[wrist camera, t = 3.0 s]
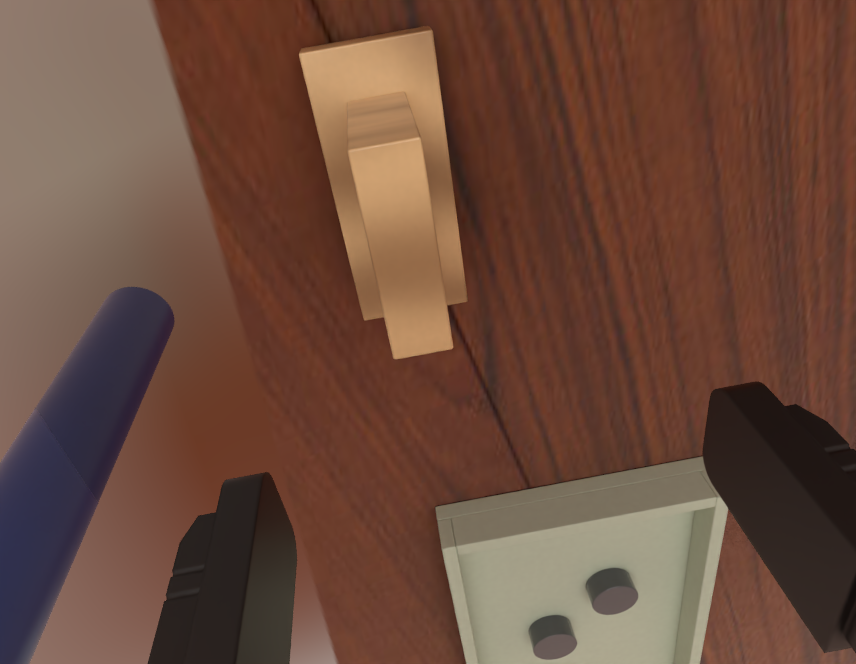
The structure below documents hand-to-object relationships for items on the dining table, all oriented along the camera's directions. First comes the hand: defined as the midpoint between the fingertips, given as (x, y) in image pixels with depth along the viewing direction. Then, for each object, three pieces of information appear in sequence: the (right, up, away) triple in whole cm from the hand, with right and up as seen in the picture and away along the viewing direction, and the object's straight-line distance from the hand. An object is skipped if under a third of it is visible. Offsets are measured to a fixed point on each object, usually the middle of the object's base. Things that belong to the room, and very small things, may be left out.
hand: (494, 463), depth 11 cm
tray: (+9, -15, +31) cm, 36 cm away
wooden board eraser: (-3, +9, +14) cm, 17 cm away
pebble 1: (+7, -18, +31) cm, 37 cm away
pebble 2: (+10, -14, +29) cm, 34 cm away
